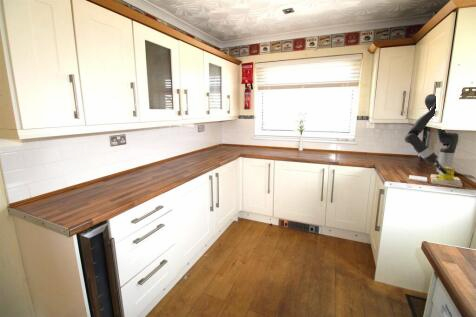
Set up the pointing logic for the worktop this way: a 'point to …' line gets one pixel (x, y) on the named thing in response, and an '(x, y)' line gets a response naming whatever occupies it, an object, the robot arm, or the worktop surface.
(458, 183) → the puzzle board
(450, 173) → the supplement box
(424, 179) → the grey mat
